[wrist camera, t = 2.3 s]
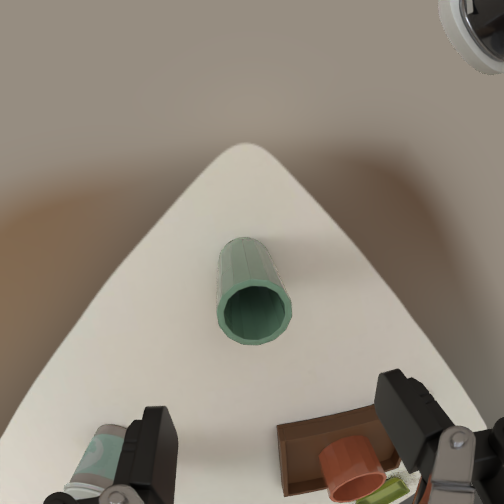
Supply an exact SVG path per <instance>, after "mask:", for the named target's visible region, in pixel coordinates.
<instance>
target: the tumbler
mask: <svg viewBox="0 0 504 504" xmlns="http://www.w3.org/2000/svg"><path fill="white" fill-rule="evenodd" d="M318 462H319V465H320V469H321V472H322V475H323V478H324V482H325V485H326V488H327V491H328V495H329V498H330V499H331V500H332V501H333V502H339V503H343V502H351V501H354V500H358V499H361V498H363V497H365V496H367V495H370V494H371V493H373V492H374V491H376V490H377V489H379V488H380V487H381V486H382V485H383V484H384V483H385V480H386V478H387V476H386V474H385V472H384V470H383V468H382V466H381V464H380V462H379V459H378V457H377V455H376V453H375V451H374V449H373V447H372V445H371V443H370V441H369V439H368V438H367V437H364V436H349V437H345V438H342V439H339V440H337V441H335V442H333V443H331V444H330V445H328V446H327V447H326V448H324V449H323V450H322V452H321V453H320V455H319V458H318Z"/></svg>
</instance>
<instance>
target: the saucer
mask: <svg viewBox="0 0 504 504" xmlns="http://www.w3.org/2000/svg"><path fill="white" fill-rule="evenodd" d="M409 492H410V490H409V489H408V487H407V486H406V485H405V483H404V482H403V480H402V479H400V478H395V477H392V478H390V479H388V480H386V481H385V483H384V484H383V485H382V486H381V487H380V488H379V489H377V490H376V491H374V492H373V493H371V494H370V495H367V496H365V497H363V498H361V499H358V500H357V501H356V504H389V503H391V502H393V501H394V500H396V499H398V498H400V497H402V496H404V495H405V494H407V493H409Z"/></svg>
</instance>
